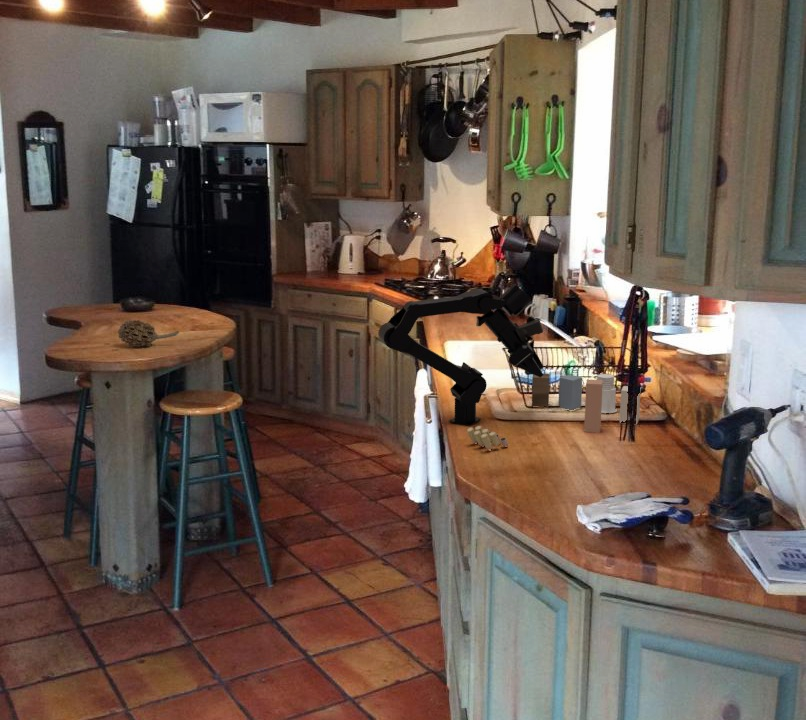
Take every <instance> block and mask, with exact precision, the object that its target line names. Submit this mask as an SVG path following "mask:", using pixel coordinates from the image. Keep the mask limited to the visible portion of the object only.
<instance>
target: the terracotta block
mask: <svg viewBox="0 0 806 720" xmlns="http://www.w3.org/2000/svg"><path fill="white" fill-rule="evenodd" d="M602 386H603V380H597V379H589V378H588V379H586V383H585V403H584V429H583V431H584V433H593V434H594V433H597V434H600V433H601V427H602V425H601V424H602V423H601V422H602V413H601V408H602Z"/></svg>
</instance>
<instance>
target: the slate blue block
mask: <svg viewBox="0 0 806 720" xmlns="http://www.w3.org/2000/svg"><path fill="white" fill-rule="evenodd" d="M558 382H559V383H558V405H557V406H560V407H562V408H565V409H569V410H574V409H576V408H578V407H581V408H582V397H583V395H582V394H583V377H582V376H578V375H574V374H565V375H562V376H559V379H558Z"/></svg>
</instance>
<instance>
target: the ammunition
mask: <svg viewBox="0 0 806 720" xmlns="http://www.w3.org/2000/svg"><path fill="white" fill-rule="evenodd" d="M466 432H467V434H468V437H469V439H470V441H471V442H472V443H473V444H474V443H477V442H478V444H477V445H478V446H479V445H480V446H484V445H485V449H486V448H487V449H492V450H493V446H495V447H496V446H497V447H498V446H499V445H500V444H499V443H501V444H502V445H501V446H502V447H504V446H508V447H509V442H508V439H507V438H506V437H500V435H499V434H498V433H496V432H495V431H491V430H490V431H489V429H488V428H482V425H477V426H475V427H469V428H467V429H466ZM492 445H493V446H492ZM480 446H479V447H480ZM487 449H486V450H487Z"/></svg>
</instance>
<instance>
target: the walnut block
mask: <svg viewBox="0 0 806 720" xmlns="http://www.w3.org/2000/svg"><path fill="white" fill-rule="evenodd" d="M542 373H543V372H542ZM531 384H532V386H531V387H532V390H531V391H532V392H531V394H532V395H531V407H532V406H548V407H549V405H548V403H550V401H549V400H550V373H543V376H542V377H538V376H536V375H534V374H532V383H531Z"/></svg>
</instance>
